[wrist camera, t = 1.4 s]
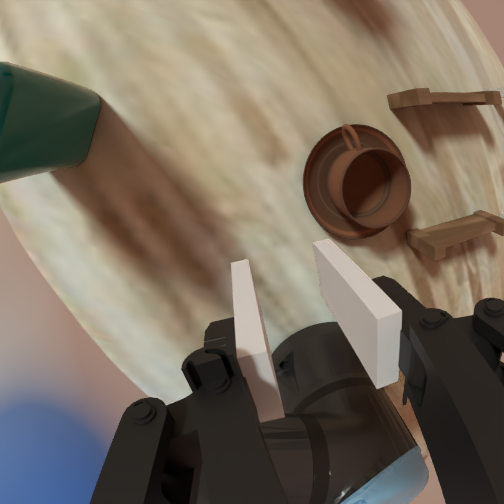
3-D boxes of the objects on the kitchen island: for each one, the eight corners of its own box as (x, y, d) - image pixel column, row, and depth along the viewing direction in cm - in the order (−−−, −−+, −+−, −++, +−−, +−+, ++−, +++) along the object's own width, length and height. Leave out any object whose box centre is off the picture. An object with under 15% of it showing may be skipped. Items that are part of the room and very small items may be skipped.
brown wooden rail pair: (480, 221, 34) (509, 233, 29) (407, 243, 34) (434, 261, 29) (468, 93, 28) (499, 91, 23) (386, 95, 28) (416, 88, 23)
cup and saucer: (274, 176, 31) (286, 183, 25) (355, 103, 29) (382, 96, 23) (345, 255, 34) (367, 277, 29) (415, 186, 32) (447, 195, 26)
